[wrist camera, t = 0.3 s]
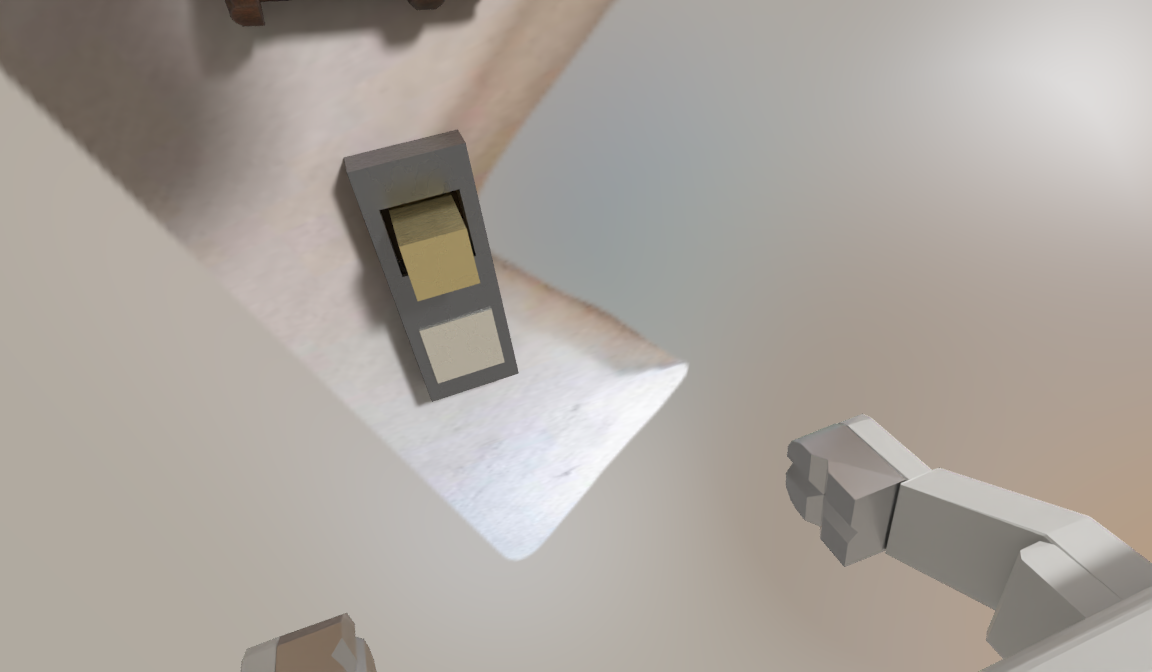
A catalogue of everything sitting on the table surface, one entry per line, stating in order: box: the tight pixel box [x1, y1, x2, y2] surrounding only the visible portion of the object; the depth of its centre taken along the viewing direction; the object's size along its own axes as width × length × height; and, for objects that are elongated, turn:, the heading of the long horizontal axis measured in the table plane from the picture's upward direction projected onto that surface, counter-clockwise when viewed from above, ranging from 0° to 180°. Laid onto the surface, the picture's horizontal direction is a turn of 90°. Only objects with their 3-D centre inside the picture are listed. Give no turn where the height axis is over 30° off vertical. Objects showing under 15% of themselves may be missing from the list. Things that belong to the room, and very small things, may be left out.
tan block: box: [388, 192, 480, 301], centre depth 46 cm, size 4×4×7 cm
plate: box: [344, 130, 518, 402], centre depth 50 cm, size 22×8×3 cm, turn 7°
